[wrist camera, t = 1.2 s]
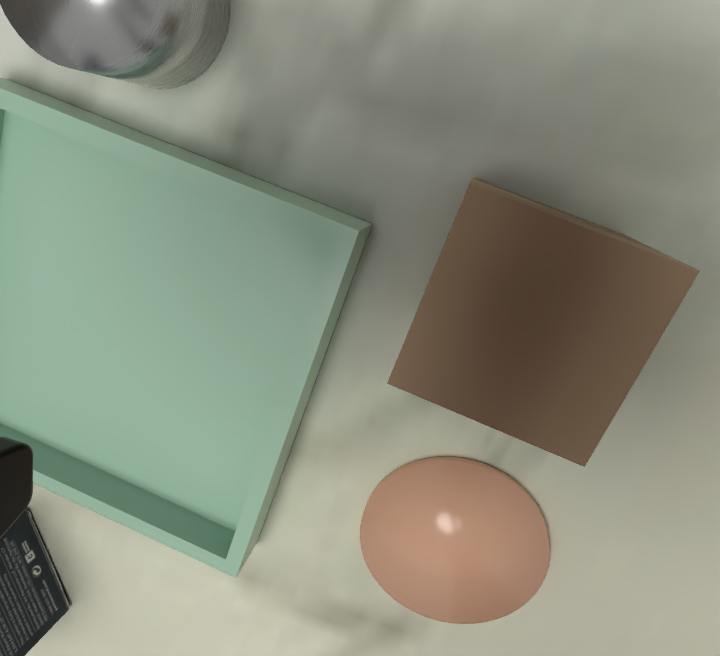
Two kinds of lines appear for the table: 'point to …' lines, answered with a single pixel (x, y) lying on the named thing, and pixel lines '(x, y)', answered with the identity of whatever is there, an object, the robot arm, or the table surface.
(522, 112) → the table surface
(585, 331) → the walnut block
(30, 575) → the box
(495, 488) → the pink dome
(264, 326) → the tray
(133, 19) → the grey tin
